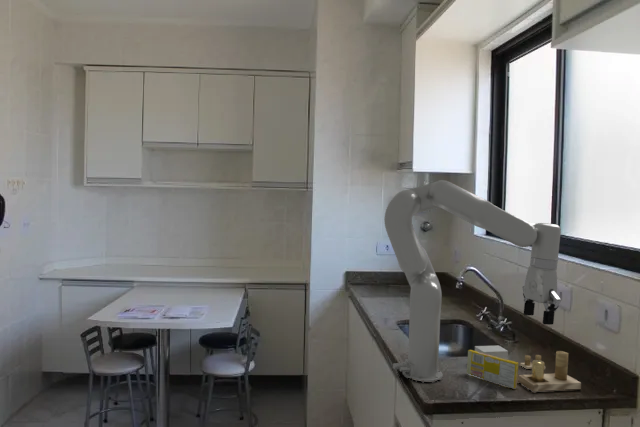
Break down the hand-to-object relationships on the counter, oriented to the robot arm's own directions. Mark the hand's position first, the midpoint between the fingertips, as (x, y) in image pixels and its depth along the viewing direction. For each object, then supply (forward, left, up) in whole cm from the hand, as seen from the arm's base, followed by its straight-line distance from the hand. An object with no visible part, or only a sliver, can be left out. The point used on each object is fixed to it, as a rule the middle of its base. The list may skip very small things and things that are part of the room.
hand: (537, 319), depth 155 cm
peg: (+1, 0, -21) cm, 21 cm away
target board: (+5, 0, -21) cm, 22 cm away
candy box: (-11, +6, -21) cm, 25 cm away
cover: (-4, +19, -21) cm, 28 cm away
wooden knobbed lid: (+10, +16, -21) cm, 28 cm away
